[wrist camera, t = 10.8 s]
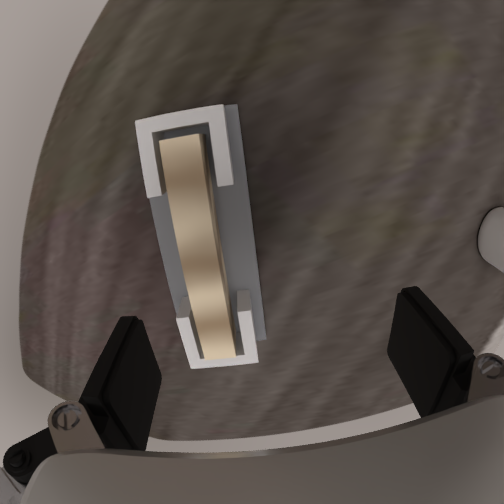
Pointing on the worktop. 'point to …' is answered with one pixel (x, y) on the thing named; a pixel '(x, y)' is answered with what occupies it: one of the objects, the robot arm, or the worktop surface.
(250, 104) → the worktop surface
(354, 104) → the worktop surface
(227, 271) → the grey holder stand
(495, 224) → the milk bottle
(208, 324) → the slat
